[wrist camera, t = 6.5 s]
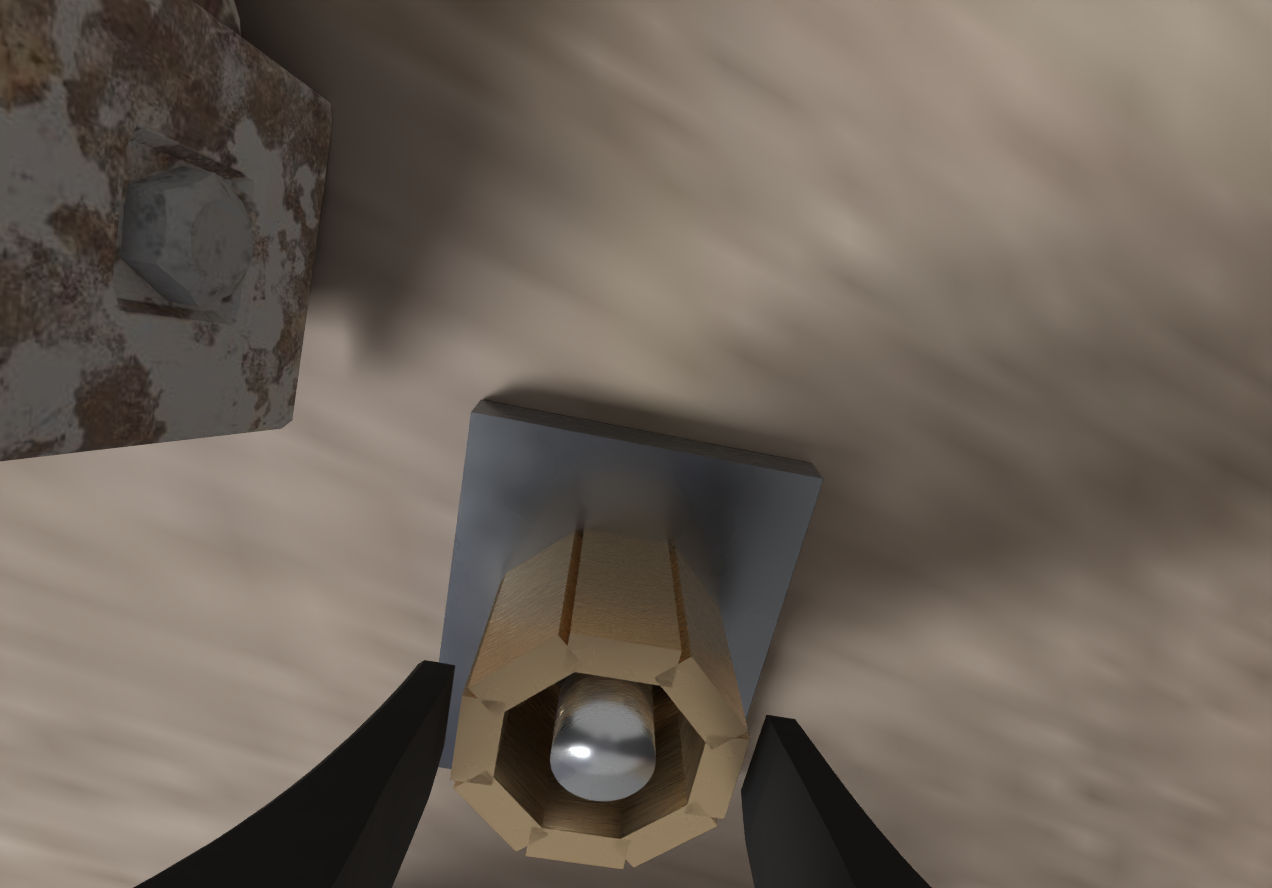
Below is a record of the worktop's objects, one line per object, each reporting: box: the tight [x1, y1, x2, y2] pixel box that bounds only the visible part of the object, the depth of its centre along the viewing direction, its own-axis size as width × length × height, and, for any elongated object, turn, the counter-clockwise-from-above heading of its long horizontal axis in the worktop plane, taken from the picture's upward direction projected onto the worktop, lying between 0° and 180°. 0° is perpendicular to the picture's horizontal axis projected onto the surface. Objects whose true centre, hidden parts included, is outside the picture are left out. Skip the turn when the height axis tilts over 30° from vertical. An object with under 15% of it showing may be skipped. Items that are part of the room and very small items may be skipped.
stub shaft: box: [438, 400, 823, 801], centre depth 15 cm, size 10×8×5 cm
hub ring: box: [450, 529, 750, 869], centre depth 14 cm, size 5×5×4 cm
